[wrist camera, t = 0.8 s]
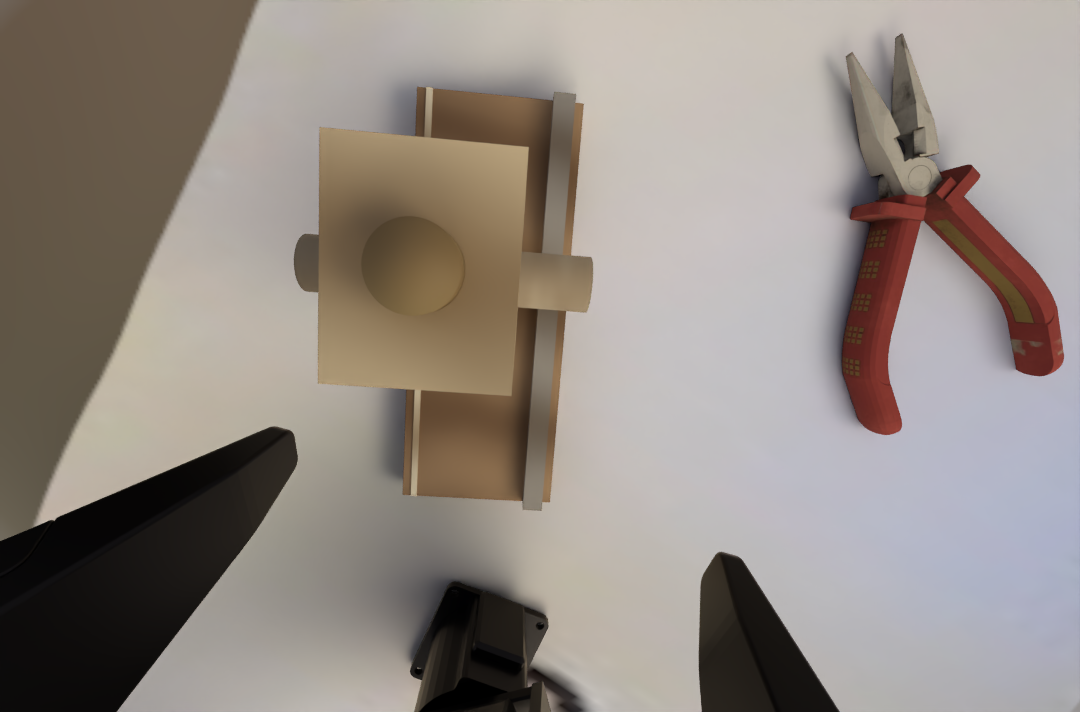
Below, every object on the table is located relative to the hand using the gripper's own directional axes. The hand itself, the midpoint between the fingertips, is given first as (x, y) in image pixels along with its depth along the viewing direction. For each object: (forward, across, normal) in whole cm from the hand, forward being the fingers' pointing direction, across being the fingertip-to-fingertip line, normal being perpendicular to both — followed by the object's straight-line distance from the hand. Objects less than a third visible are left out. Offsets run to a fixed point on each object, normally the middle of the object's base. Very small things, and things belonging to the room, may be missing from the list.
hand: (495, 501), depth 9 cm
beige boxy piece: (+14, +5, +2) cm, 15 cm away
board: (+16, +4, +4) cm, 17 cm away
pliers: (+23, -19, -2) cm, 30 cm away
